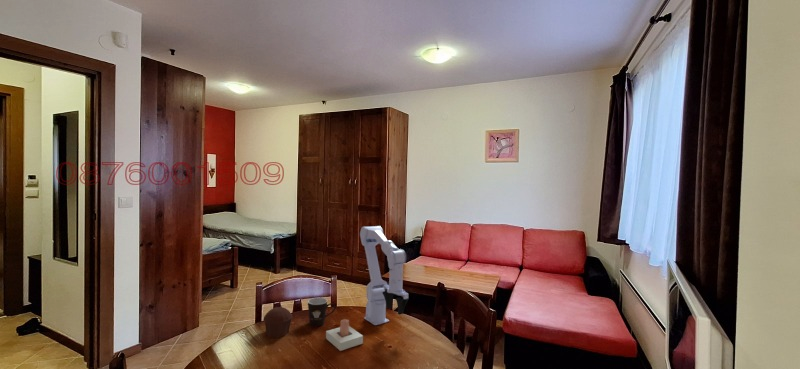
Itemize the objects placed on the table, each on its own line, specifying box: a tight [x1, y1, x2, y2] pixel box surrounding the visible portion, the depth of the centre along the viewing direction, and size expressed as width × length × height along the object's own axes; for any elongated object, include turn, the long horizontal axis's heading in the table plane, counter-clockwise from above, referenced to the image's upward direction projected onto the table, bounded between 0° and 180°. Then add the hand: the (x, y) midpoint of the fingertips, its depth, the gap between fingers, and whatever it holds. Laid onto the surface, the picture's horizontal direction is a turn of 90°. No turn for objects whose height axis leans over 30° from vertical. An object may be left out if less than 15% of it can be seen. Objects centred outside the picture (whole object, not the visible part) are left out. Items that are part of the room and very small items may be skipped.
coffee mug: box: [307, 297, 336, 327], centre depth 145 cm, size 12×9×10 cm
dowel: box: [339, 318, 350, 337], centre depth 130 cm, size 3×3×8 cm
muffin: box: [263, 306, 293, 338], centre depth 135 cm, size 12×11×10 cm
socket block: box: [325, 325, 364, 352], centre depth 130 cm, size 12×10×3 cm
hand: (394, 310), depth 138 cm, fingers open, 7 cm apart
